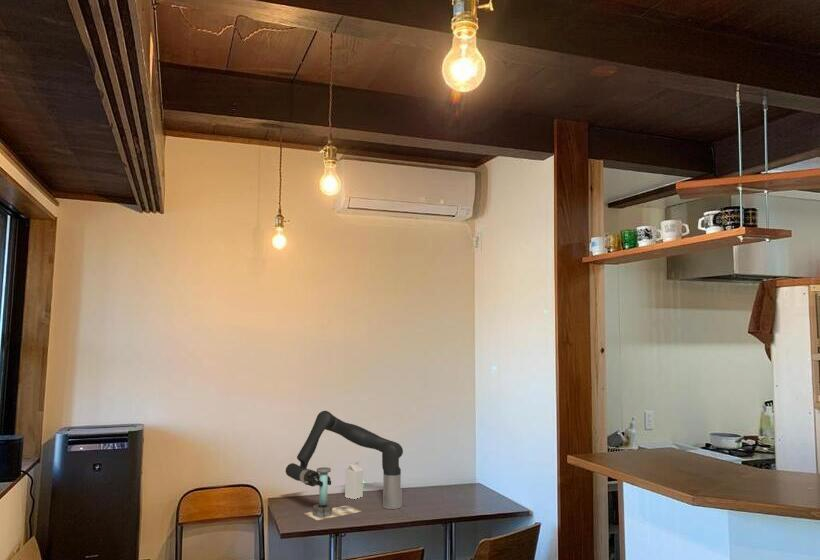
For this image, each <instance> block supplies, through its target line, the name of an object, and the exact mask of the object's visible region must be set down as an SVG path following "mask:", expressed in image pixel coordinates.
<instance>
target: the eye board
mask: <svg viewBox="0 0 820 560" xmlns="http://www.w3.org/2000/svg"><path fill="white" fill-rule="evenodd" d="M360 512H363V511H362V510H360V509H357V508H355V507H353V506H351V505H348V504H347V505H342V506H337V507H333V505H332V504H329V503H327V505H319V503H317V504H316V503H315V504H314V505H313V506H312V511H309V512H303V514H304V515H306V516H307V517H308V518H309V517H310V518H311V519H313V520H315V521H320V520H325V519H331V518H335V517H341V516H345V515H350V514H355V513H360Z"/></svg>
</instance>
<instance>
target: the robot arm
mask: <svg viewBox="0 0 820 560" xmlns="http://www.w3.org/2000/svg"><path fill="white" fill-rule="evenodd" d="M325 430H326V431H329V432H332V433H335V434H337V435H339V436H341V437H342V438H344V439H346V440H348V441H349V442H350V443H353V444H355V445H358V446H359V447H363V448H367V449H373V450H376V451H378V452H380V453H382V455H381V457H382V459H381V462H382V463H381V465H382V470H383V473H382V474H383V478H382V479H383V487H382V488H383V489H382V491H383V492H382V508H384V509H386V510H397V509H400V508H402V506H403V489H402V488H401V485H402V484H401V477H402V476H401V475H402V471H401V468H400V464H399V463H400V462H399V461H400V458H401V457H402V455H403V454H404V449H403V446H402V445H401V444H400V443H398V442H396V441H394V440H390V439H387V438H384V437H382V436H379V435H378V434H376V433H374V432H372V431H370V430H368V429H366V428H365V427H362V426H359V425H356V424H353V423H349V422H345V421H344V420H341V419H339V418H338V417H336V416H335V415H334V414H332V413H331V412H330V411H328V410H322V411H320V412H319V413H318V414H317V416H316V418H315V421H314V423H313V426H312V428H311V431H310V433H309V434H308V436H307V438H306V440H305V442H304V444H303V446H302V447H301V449H300V450H299V452H298V453H297V455H296V459H297V460H298V462H299V463H300V464H296V463H295V462H293V463H289V464H288V465H287V466H286V467H285V474H286V476H288V477H289V478H292V479H293V480H295V481H297V482H298V481H299V482H301V483H303V484H304V485H305V486H310V487H316V486H321V487H322V486H323V482H322V481H320V473H318V472H317V470H313V469H310V468H308V466H309V462H310V461H311V459H312V457H313V455H314V453H315V452H316V449H317V446H318V443H319V440H320V438H321V437H322V435H323V433H324V431H325ZM331 485H332V480H331V477H330V476H329V475H328V486H331Z"/></svg>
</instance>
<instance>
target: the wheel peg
mask: <svg viewBox="0 0 820 560" xmlns="http://www.w3.org/2000/svg"><path fill="white" fill-rule="evenodd" d="M331 471H332V469H331V467H318V468H316V472H318V473H319V474H320V481H322V482H323V486H322V487H321V486H319V485H318V486H319V488H318V490H319V491H318V492H319V496H318V501H319V502H318V504H319V505H327V504H328V486H329V485H328V476H329V473H330V472H331Z"/></svg>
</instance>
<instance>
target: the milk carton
mask: <svg viewBox="0 0 820 560" xmlns="http://www.w3.org/2000/svg"><path fill="white" fill-rule="evenodd" d="M344 479H345V481H344V482H345V483H344V484H345V485H344V486H345V487H344V498H345V497H346V498H345V499H349V498H350V500H354V499H355V500H358V499H360V497H361V498H363V493H364V492H363V491H364V488H363V487H364V486H363V485H364V469H363V467H362V466H361V465H360V464H359V461H357V462H353V463H350V465H349V466H348V467H347V469H345V478H344ZM357 498H358V499H357Z"/></svg>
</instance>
